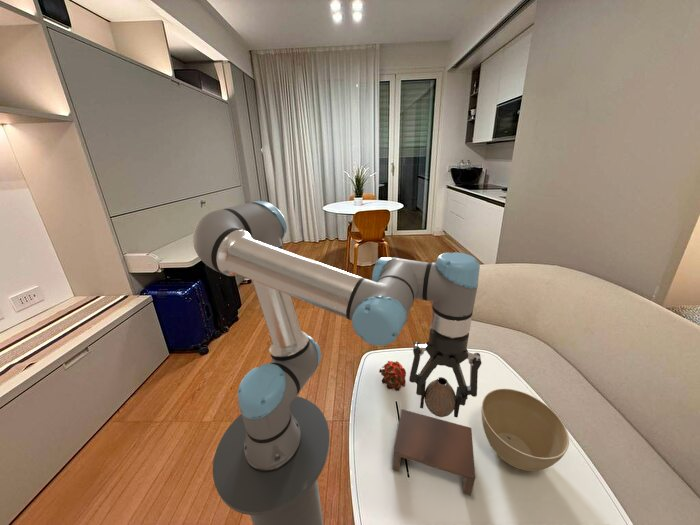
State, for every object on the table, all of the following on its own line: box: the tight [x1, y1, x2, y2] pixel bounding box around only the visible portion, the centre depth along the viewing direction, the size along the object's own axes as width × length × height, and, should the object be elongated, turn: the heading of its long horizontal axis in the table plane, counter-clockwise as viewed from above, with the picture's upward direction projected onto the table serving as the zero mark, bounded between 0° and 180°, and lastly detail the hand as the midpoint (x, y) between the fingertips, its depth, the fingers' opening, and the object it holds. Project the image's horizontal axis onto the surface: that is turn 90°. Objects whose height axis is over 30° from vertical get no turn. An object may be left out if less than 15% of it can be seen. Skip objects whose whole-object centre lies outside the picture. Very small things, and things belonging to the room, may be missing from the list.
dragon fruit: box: [378, 360, 407, 392], centre depth 90 cm, size 8×8×12 cm
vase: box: [424, 376, 456, 418], centre depth 61 cm, size 7×7×9 cm
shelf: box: [392, 408, 476, 497], centre depth 67 cm, size 18×12×7 cm, turn 71°
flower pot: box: [481, 388, 570, 472], centre depth 67 cm, size 18×18×12 cm
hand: (438, 407), depth 63 cm, fingers closed on vase, 7 cm apart
